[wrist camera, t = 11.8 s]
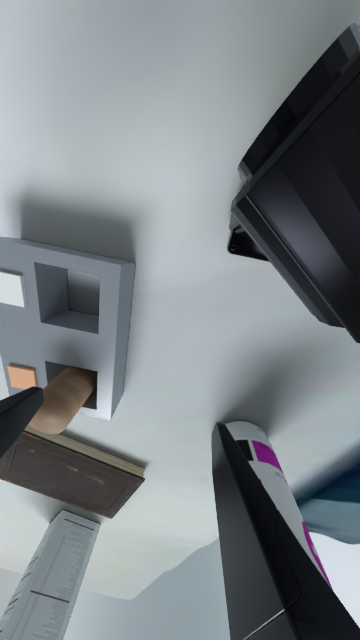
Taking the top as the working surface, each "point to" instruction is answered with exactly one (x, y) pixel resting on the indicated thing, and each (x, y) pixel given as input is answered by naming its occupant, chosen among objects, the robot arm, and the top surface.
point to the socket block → (63, 320)
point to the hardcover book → (70, 472)
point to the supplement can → (273, 481)
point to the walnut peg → (64, 399)
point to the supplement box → (51, 581)
